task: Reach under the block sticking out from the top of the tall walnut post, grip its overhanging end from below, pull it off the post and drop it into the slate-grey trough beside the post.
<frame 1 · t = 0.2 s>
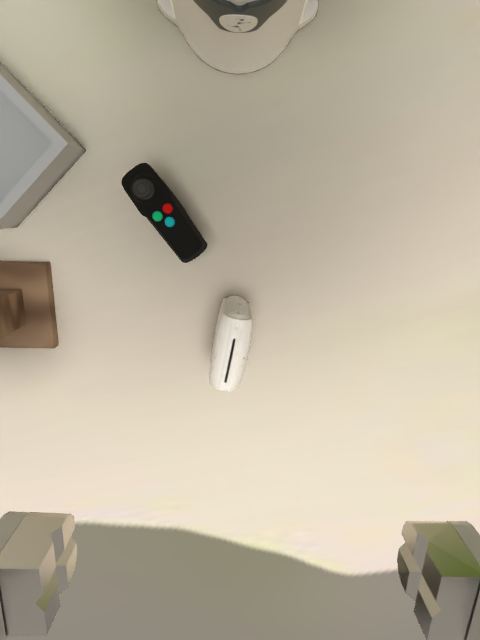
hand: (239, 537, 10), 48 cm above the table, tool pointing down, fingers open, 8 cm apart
photo printer: (230, 328, 59), on the table
controller: (173, 213, 54), on the table
post: (11, 303, 57), on the table
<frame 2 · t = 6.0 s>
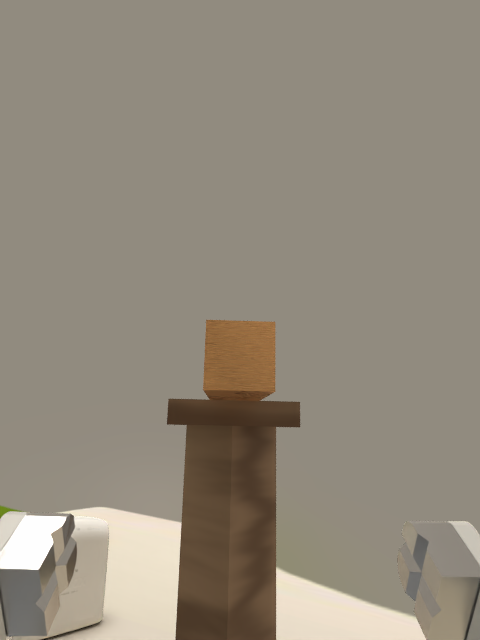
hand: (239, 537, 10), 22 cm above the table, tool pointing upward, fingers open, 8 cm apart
photo printer: (58, 631, 48), on the table
block: (233, 402, 27), point 26 cm above the table, touching post
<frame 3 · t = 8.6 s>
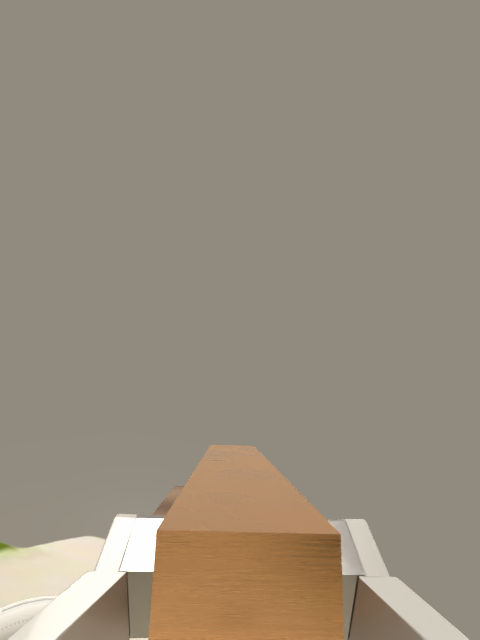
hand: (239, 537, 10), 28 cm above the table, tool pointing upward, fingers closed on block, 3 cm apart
block: (233, 539, 16), point 26 cm above the table, touching gripper, post
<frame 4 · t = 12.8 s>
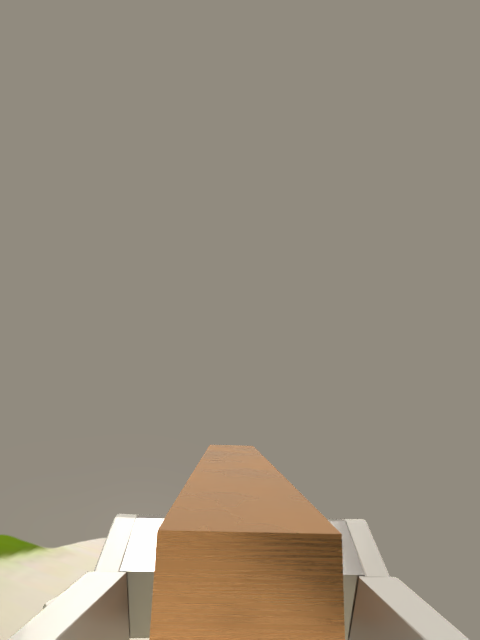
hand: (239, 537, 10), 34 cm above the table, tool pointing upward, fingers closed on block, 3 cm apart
block: (232, 539, 16), point 32 cm above the table, touching gripper
when the fingers open (20 cm above the table, at t = 16.9 s): block drops 18 cm, resting on trough.
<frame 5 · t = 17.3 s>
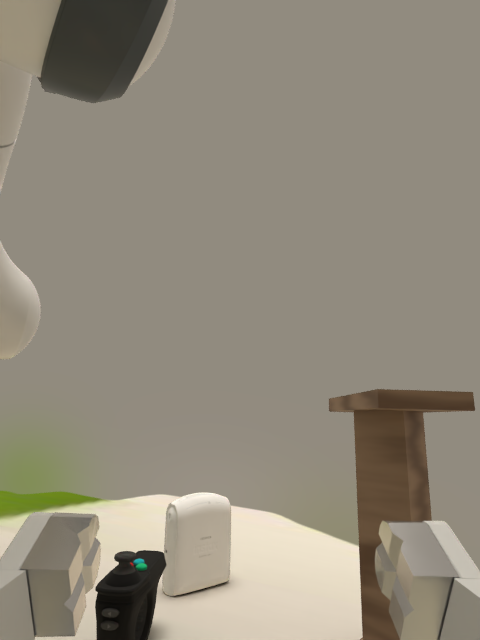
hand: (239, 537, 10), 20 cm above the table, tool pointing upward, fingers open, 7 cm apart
photo printer: (196, 587, 57), on the table
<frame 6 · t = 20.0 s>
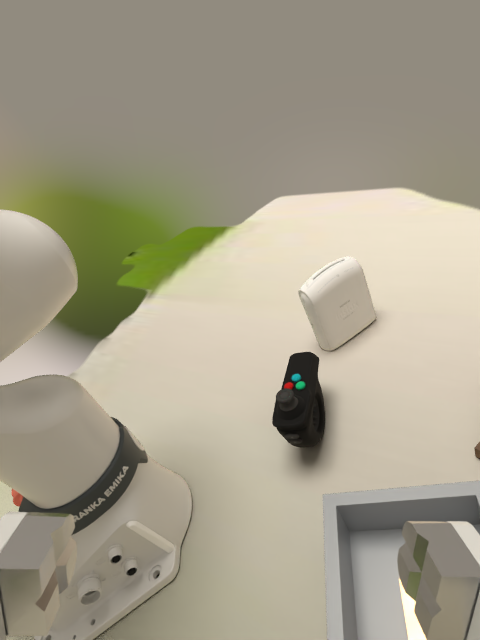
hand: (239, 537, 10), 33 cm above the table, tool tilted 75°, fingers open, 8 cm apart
photo printer: (347, 332, 64), on the table
controller: (314, 425, 53), on the table
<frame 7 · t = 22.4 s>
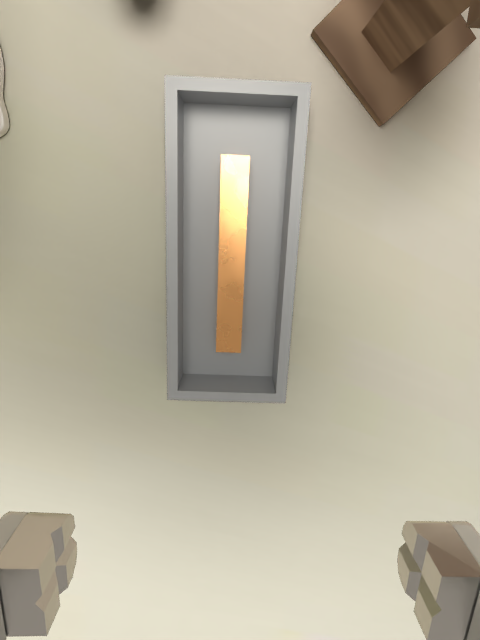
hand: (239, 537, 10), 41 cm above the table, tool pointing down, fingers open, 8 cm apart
block: (231, 257, 48), point 1 cm above the table, touching trough
trough: (232, 251, 49), on the table
post: (389, 39, 43), on the table
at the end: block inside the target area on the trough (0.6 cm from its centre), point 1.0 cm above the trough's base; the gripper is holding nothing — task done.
